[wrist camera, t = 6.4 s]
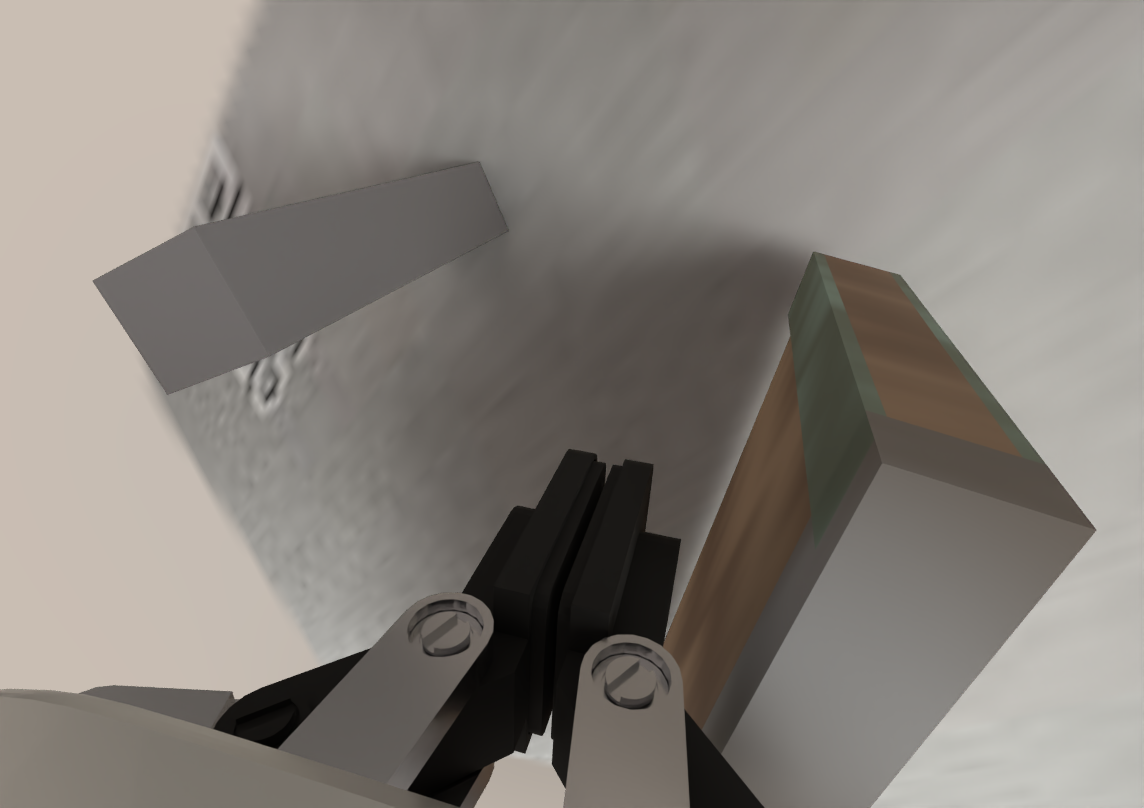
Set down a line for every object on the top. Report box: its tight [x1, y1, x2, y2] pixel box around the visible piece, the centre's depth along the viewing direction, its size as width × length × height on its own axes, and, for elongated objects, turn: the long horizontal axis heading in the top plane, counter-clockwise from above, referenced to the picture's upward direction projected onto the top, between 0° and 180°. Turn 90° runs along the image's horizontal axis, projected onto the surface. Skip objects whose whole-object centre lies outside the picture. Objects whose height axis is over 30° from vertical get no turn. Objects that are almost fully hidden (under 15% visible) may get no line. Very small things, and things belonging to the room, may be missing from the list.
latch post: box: [93, 162, 508, 395], centre depth 14 cm, size 2×2×10 cm
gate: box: [663, 252, 1096, 808], centre depth 14 cm, size 15×2×10 cm, turn 168°
